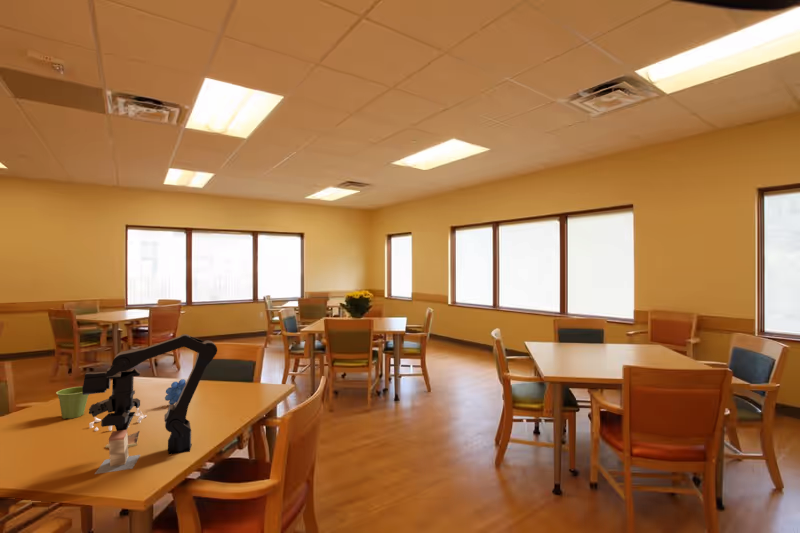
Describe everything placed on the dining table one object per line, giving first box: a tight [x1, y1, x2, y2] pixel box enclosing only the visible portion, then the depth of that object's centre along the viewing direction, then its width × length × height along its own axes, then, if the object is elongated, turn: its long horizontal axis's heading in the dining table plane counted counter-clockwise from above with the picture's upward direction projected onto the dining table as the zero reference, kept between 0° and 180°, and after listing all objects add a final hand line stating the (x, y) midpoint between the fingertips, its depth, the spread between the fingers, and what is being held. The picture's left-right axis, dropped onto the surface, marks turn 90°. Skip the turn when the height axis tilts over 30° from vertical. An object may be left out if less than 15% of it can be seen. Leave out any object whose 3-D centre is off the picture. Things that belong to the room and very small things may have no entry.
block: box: [108, 429, 129, 466], centre depth 124 cm, size 4×4×10 cm
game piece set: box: [88, 407, 148, 432], centre depth 160 cm, size 19×20×4 cm
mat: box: [94, 454, 141, 475], centre depth 124 cm, size 10×10×1 cm
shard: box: [105, 430, 140, 449], centre depth 141 cm, size 13×9×2 cm
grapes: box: [164, 378, 187, 406], centre depth 183 cm, size 12×7×12 cm, turn 115°
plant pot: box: [55, 386, 90, 420], centre depth 166 cm, size 12×12×11 cm
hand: (121, 437), depth 127 cm, fingers closed
